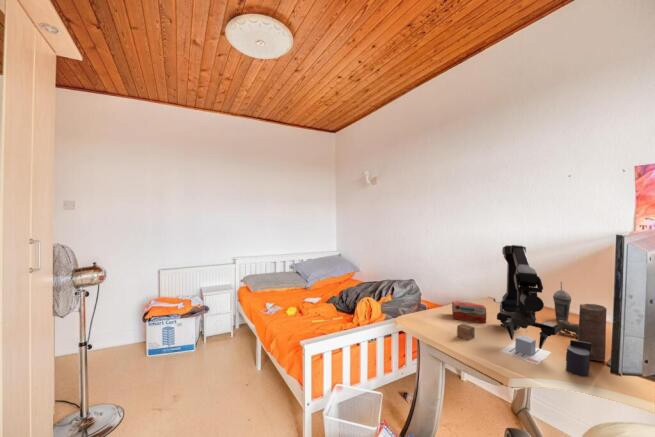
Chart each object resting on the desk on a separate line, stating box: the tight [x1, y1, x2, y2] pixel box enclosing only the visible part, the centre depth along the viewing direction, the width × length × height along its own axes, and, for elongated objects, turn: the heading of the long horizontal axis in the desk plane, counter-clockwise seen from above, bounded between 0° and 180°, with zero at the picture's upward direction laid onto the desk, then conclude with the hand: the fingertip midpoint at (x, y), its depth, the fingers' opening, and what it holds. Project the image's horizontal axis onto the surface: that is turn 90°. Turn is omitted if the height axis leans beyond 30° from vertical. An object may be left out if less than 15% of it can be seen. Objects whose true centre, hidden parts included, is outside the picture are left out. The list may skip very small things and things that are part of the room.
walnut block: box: [456, 322, 476, 341], centre depth 116 cm, size 5×5×5 cm
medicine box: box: [451, 299, 487, 324], centre depth 140 cm, size 15×8×8 cm, turn 69°
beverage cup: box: [552, 281, 572, 323], centre depth 139 cm, size 7×7×20 cm
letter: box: [499, 340, 552, 366], centre depth 104 cm, size 16×12×1 cm
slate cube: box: [515, 334, 537, 356], centre depth 104 cm, size 5×5×5 cm
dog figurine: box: [556, 317, 579, 339], centre depth 119 cm, size 12×6×7 cm, turn 41°
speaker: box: [565, 339, 591, 378], centre depth 90 cm, size 8×6×10 cm
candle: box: [577, 303, 608, 362], centre depth 100 cm, size 8×7×20 cm
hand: (525, 344), depth 104 cm, fingers open, 9 cm apart
